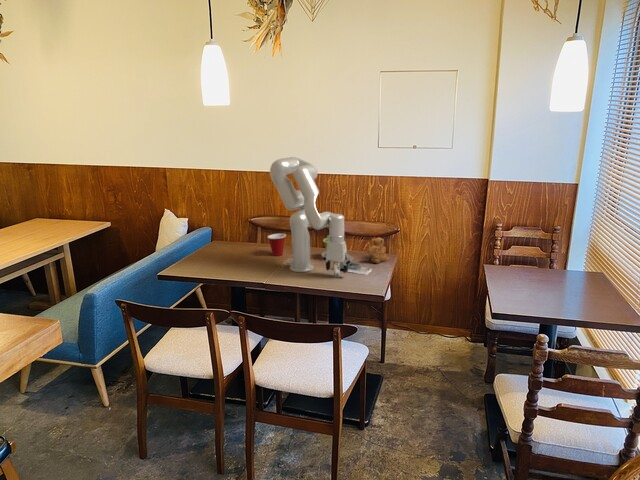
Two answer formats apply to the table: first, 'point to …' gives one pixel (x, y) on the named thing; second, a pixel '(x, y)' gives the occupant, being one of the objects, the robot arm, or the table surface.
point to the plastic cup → (277, 243)
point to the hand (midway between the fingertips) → (336, 270)
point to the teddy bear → (377, 251)
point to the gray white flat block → (356, 268)
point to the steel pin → (336, 269)
